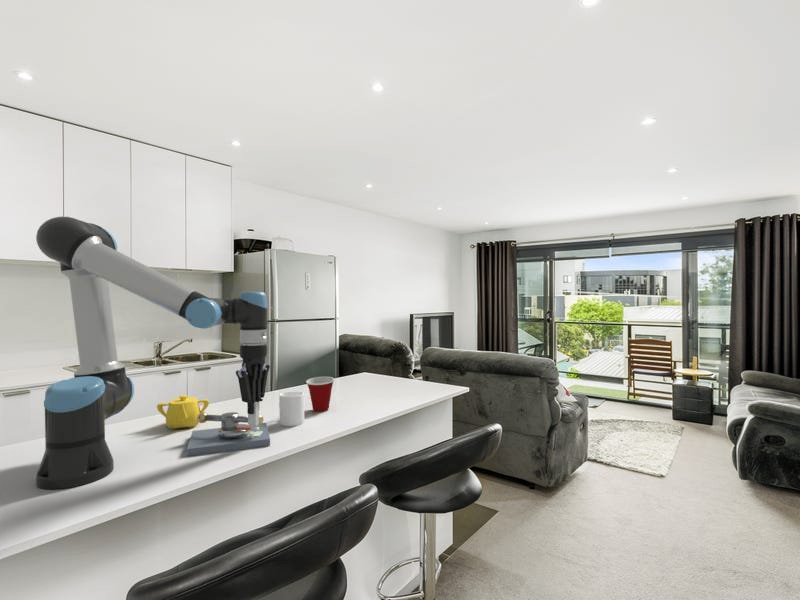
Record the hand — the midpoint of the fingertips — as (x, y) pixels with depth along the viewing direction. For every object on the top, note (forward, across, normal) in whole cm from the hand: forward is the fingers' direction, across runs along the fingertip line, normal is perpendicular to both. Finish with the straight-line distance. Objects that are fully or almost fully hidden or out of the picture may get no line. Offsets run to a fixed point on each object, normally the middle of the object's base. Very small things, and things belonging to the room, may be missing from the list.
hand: (253, 424), depth 125 cm
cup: (+6, +24, +3) cm, 25 cm away
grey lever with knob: (+4, +1, +9) cm, 10 cm away
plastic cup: (+6, +40, 0) cm, 41 cm away
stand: (+6, +1, +9) cm, 11 cm away
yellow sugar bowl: (+7, +9, +35) cm, 37 cm away
